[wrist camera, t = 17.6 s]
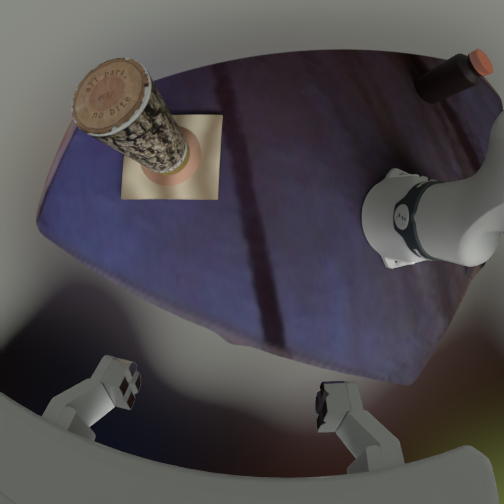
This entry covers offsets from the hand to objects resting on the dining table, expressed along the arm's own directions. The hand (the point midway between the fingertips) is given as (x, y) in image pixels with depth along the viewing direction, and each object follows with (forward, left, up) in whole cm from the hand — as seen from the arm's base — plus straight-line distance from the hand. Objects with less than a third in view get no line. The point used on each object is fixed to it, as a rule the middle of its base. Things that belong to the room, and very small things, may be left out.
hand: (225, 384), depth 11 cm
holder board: (+10, -16, -35) cm, 40 cm away
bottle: (-41, -38, -35) cm, 67 cm away
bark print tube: (+10, -16, -34) cm, 39 cm away
